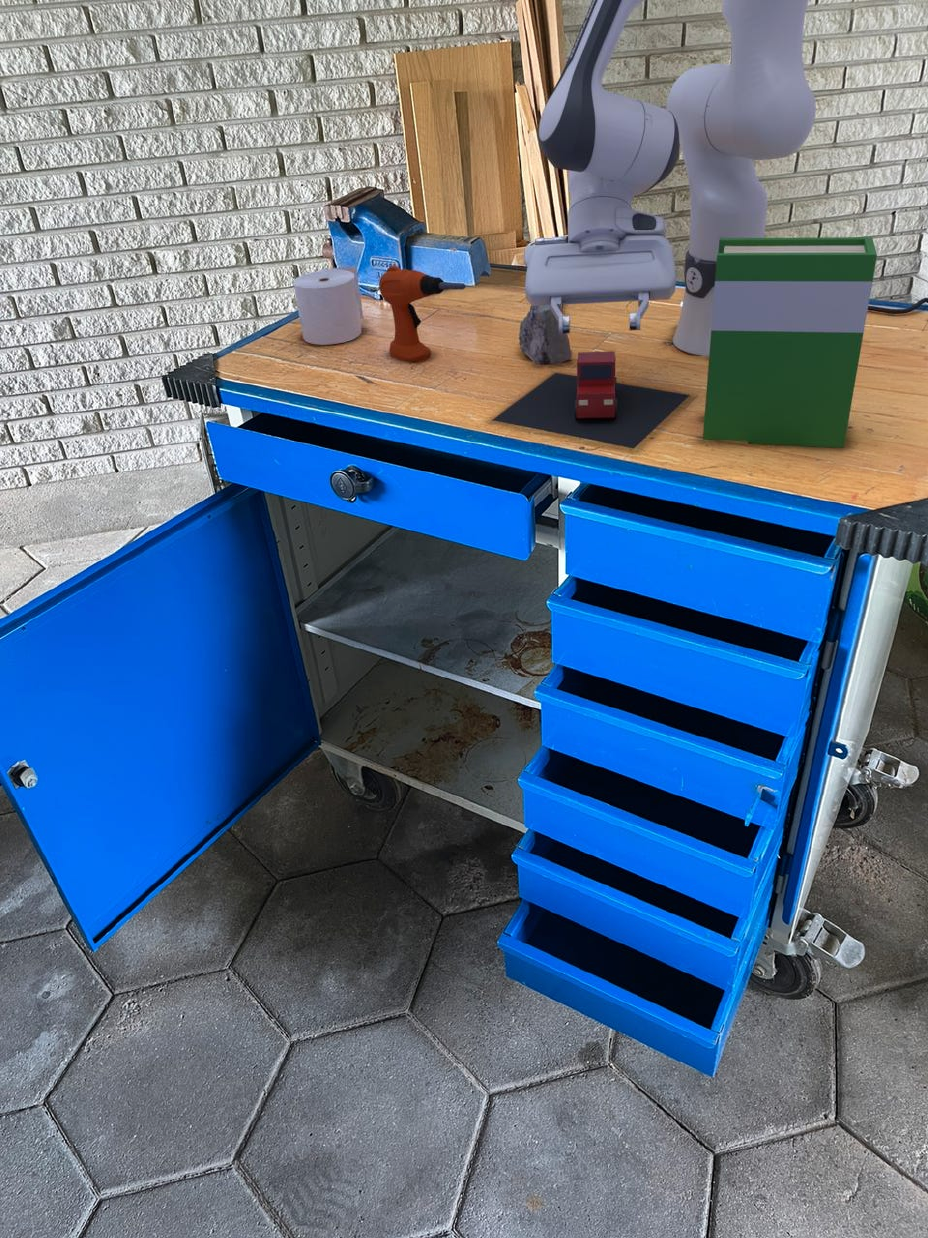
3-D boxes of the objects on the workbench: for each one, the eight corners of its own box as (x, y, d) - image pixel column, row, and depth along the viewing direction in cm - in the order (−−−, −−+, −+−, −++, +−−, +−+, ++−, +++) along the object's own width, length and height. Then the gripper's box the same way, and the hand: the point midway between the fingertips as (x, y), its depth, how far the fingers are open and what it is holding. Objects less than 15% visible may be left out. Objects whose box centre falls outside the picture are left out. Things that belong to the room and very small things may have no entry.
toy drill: (466, 369, 150) (450, 270, 143) (385, 360, 162) (365, 269, 155) (486, 359, 153) (471, 262, 145) (405, 351, 165) (387, 261, 158)
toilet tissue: (297, 347, 168) (287, 289, 163) (310, 323, 178) (301, 268, 172) (357, 344, 167) (349, 285, 162) (367, 320, 177) (359, 265, 171)
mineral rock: (526, 336, 164) (523, 276, 158) (587, 339, 161) (587, 278, 155) (502, 364, 155) (499, 302, 149) (567, 368, 151) (567, 305, 145)
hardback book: (702, 441, 127) (717, 255, 113) (705, 418, 133) (719, 238, 119) (843, 447, 123) (877, 254, 109) (840, 423, 129) (871, 236, 115)
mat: (555, 374, 150) (555, 372, 149) (689, 397, 139) (689, 394, 139) (491, 422, 137) (491, 419, 137) (633, 450, 127) (633, 448, 126)
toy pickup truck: (576, 388, 144) (576, 336, 139) (616, 387, 143) (617, 334, 138) (574, 425, 133) (574, 369, 129) (616, 424, 133) (618, 368, 128)
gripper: (522, 226, 130) (520, 323, 128) (676, 217, 127) (677, 315, 125) (526, 251, 136) (524, 343, 134) (673, 242, 133) (674, 337, 131)
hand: (599, 330), depth 130 cm, fingers open, 8 cm apart
